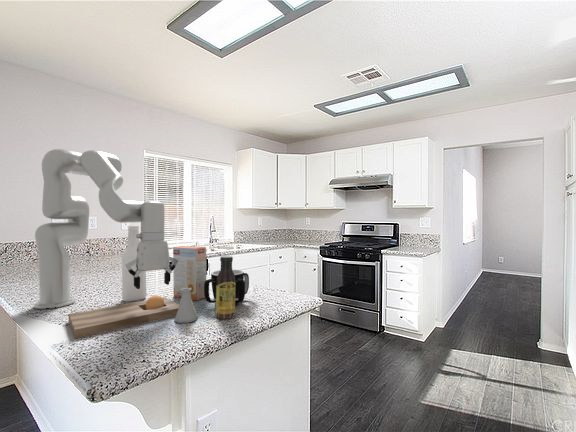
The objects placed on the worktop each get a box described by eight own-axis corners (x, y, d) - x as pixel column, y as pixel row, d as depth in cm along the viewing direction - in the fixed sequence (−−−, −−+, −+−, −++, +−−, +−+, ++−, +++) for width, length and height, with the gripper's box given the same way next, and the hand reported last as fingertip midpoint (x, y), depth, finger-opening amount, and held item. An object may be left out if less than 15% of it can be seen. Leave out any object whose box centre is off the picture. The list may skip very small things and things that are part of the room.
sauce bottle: (218, 321, 96) (217, 258, 96) (213, 315, 102) (212, 256, 102) (238, 317, 99) (237, 257, 99) (232, 312, 105) (231, 254, 105)
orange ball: (146, 315, 106) (139, 301, 104) (160, 305, 111) (154, 291, 109) (155, 318, 103) (148, 303, 101) (170, 307, 107) (163, 292, 106)
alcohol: (130, 303, 118) (129, 226, 118) (117, 300, 123) (116, 225, 123) (150, 297, 125) (149, 225, 125) (138, 295, 130) (137, 225, 130)
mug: (214, 297, 125) (214, 268, 125) (253, 298, 123) (252, 268, 123) (199, 309, 108) (198, 276, 108) (243, 310, 107) (242, 276, 107)
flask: (190, 324, 94) (190, 292, 94) (169, 323, 95) (169, 291, 95) (202, 316, 101) (201, 286, 101) (182, 315, 102) (181, 286, 102)
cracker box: (207, 297, 125) (206, 246, 125) (195, 301, 119) (195, 248, 119) (184, 293, 132) (184, 245, 132) (173, 296, 127) (172, 246, 127)
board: (68, 321, 98) (68, 314, 98) (164, 303, 117) (164, 296, 117) (75, 338, 84) (74, 329, 84) (182, 314, 103) (182, 307, 103)
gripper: (128, 239, 98) (127, 292, 98) (181, 236, 109) (181, 284, 109) (122, 237, 103) (122, 287, 103) (173, 235, 114) (173, 280, 115)
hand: (152, 286), depth 106 cm, fingers open, 9 cm apart
